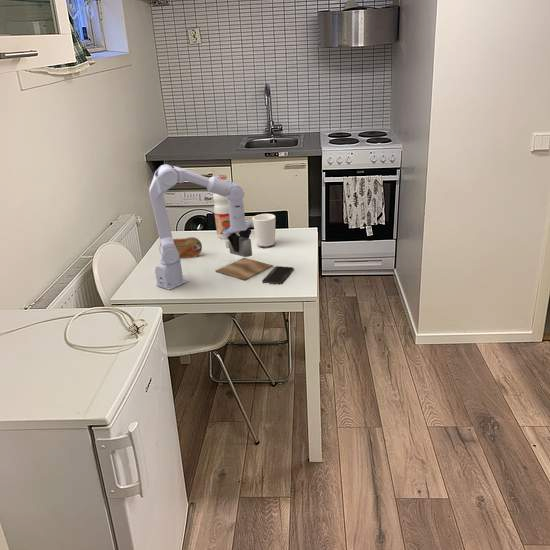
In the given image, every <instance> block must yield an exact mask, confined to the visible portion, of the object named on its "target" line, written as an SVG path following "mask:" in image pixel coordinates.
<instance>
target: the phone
mask: <svg viewBox="0 0 550 550" xmlns="http://www.w3.org/2000/svg"><path fill="white" fill-rule="evenodd" d="M273 267H274V268H273ZM273 267H272V270H270V272H269V273H268V274H267V275H266V276H265V277H264V278H263V279H262V281H261V282H262V284H264V283H269V284H268V285H276V284H279V285H280V284H281V285H283V284H284V282H286V280H287V279H288V278H289V277H290V275H292V273H293V271H294V270H295V268H294V267H292V266H279V265H277V266H273ZM279 285H278V286H279ZM281 285H280V286H281Z"/></svg>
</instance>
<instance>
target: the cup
mask: <svg viewBox="0 0 550 550" xmlns="http://www.w3.org/2000/svg"><path fill="white" fill-rule="evenodd" d="M252 222H253V230H254V235H255V239H256V244H257V246H258V247H259V248H266V249H268V248H269V247H274V245H275V243H276V215H275V214H273V213H261V214H257V215H254V216H252Z"/></svg>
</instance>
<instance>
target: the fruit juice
mask: <svg viewBox="0 0 550 550" xmlns="http://www.w3.org/2000/svg"><path fill="white" fill-rule="evenodd" d="M218 176H219V177H221V178H220V179H222V180H225V181H227V175H223V174H220V175H218ZM212 199H213V200H212V201H214V202H213V203H214V205H213V213H214V220H215V229H216V235H217V238H218V239H219V238H220V240H228V238H227V237H223V232H224V231H225V230H227V229H228V228H230V218H229V208H228V197H224V196H221V195H218V194H215V193H212ZM236 234H237V235H238V232H237V233H236Z"/></svg>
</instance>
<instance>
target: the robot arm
mask: <svg viewBox="0 0 550 550" xmlns="http://www.w3.org/2000/svg"><path fill="white" fill-rule="evenodd" d="M220 178H221V177H219V175H216V176H214V175H213V176H212V177H209V178H208V177H206V176H203V175H201V174H198V173H196V172H193V171H192V170H191V171H190V170H188V169H185V168H183V167H179V166H176V165H175V166H174V165H173V166H172V165H170V164H167V163H166V164H162V165H160V166H159V167H158V168H157V169H156V170H155V172H154V174H153V177H152V180H151V184H150V186H149V188H148V194H149V198H150V203H151V207H152V211H153V216H154V220H155V223H156V228H157V231H158V237H159V247H158V249H159V253H160V255H161V260H160V264H159V265H158V264H157V266H156V267H155V269H154V273H155V279H156V286H157V287H159V288H162V289H164V290H169V291H171V290H172V289H175V288H177V287H179V286H180V285H183V284H186V283H188V282H189V280H188V279H186V278H184V277H183V275H184V274H183V269H182V262H181V259H180V258H179V252H178V250H177V249H176V246H175V244H174V241H173V239H174V238H173V233H172V229H171V224H170V220H169V216H168V212H167V207H166V203H165V199H164V195H165V194H166V192H167V191H168V190H169V189H172V188H173V187H174V186H175V185H177V183H179V184H182V183H184V182H189V183H192V184H196V185H198V186H202V187H206V190H207V192H209V193H212V194H213V193H215V194H218V195H221V196H224V197H228V208H229V218H230V228H228V229H227V230H225V231H224V232H223V237H227V238H228V239H227V240H229V241H230V243H231V245H232V247H233V250H234V251H235V252H239V238H240V237H244V238H248V239H250V236H251V233H252V229H250V228H254V225H253V221H246V216H245V207H244V199H243V198H244V197H245V192H244V189H243V188H242V187H241V186H240V185H239V184H238V183H236V182H235V181H232V180H229V181H228V180H226V181H225V180H222V179H220ZM236 233H237V234H236Z"/></svg>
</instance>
